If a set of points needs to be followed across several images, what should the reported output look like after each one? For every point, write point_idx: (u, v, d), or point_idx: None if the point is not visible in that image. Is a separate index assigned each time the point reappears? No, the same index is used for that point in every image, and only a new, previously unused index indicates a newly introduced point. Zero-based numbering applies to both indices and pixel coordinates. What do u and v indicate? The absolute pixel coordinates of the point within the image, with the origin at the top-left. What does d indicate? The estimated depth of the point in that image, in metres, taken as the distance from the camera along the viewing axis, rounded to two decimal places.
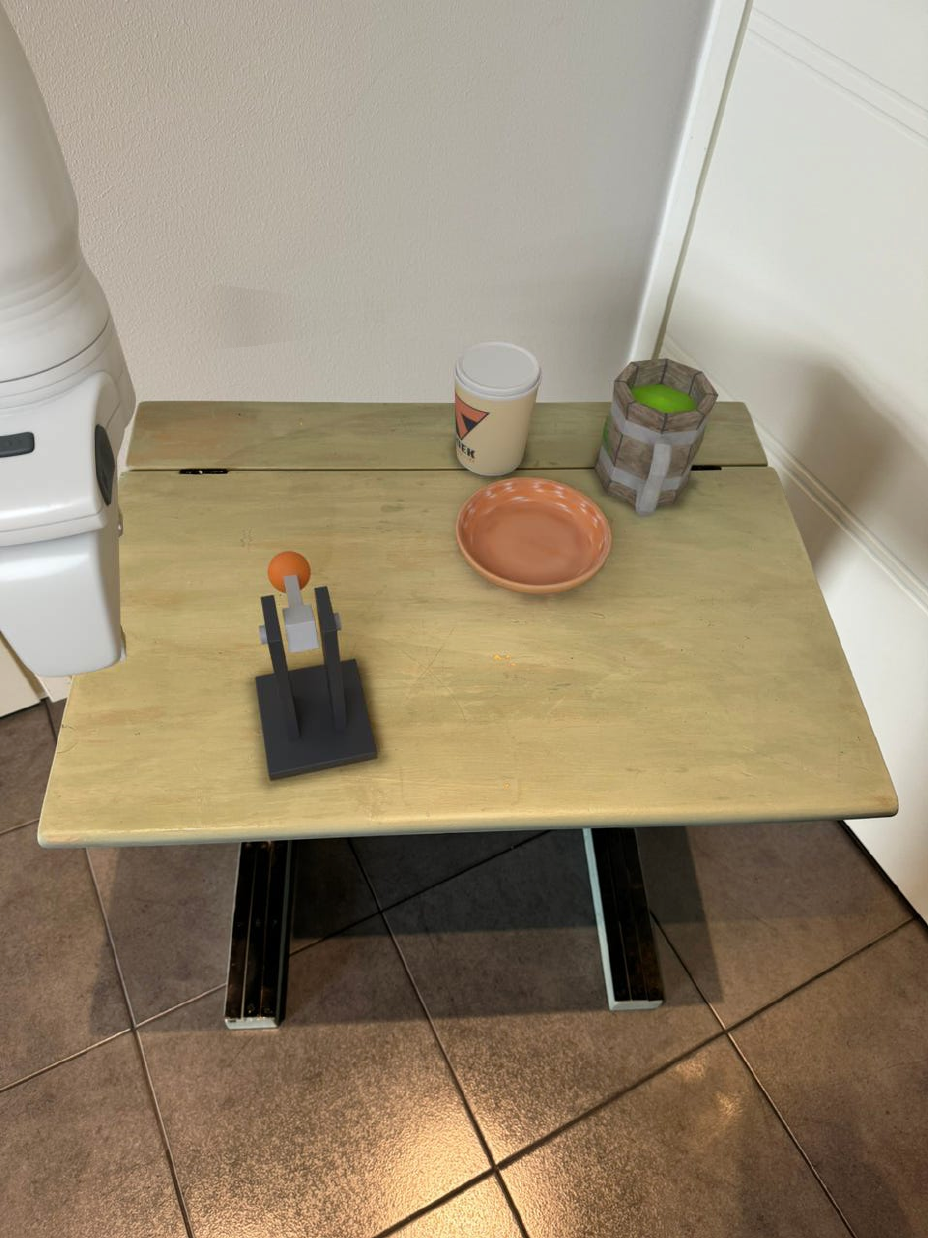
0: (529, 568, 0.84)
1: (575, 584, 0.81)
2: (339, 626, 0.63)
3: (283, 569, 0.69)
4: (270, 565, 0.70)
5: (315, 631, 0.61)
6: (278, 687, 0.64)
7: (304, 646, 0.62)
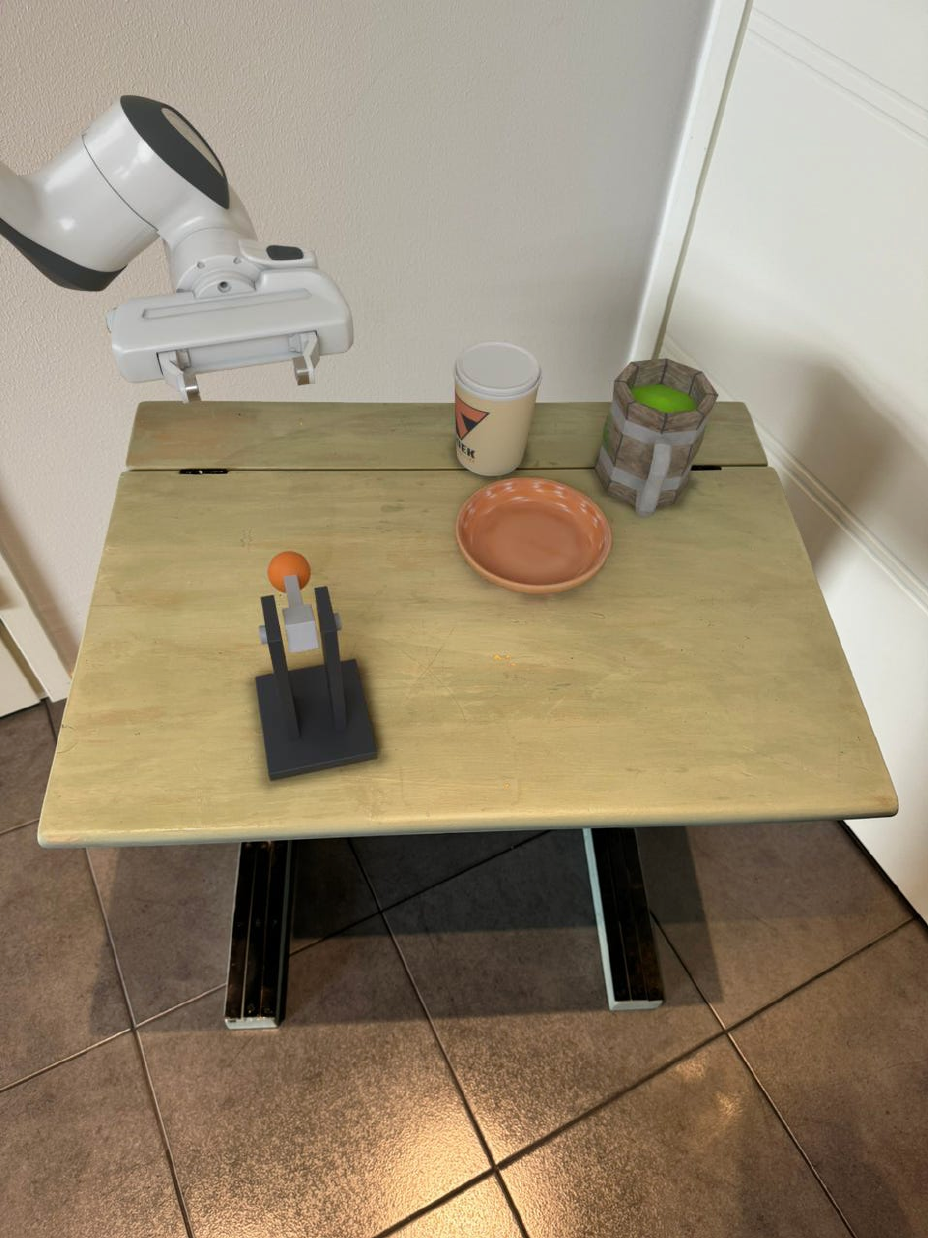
0: (529, 568, 0.84)
1: (575, 584, 0.81)
2: (339, 626, 0.63)
3: (283, 569, 0.69)
4: (270, 565, 0.70)
5: (315, 631, 0.61)
6: (278, 687, 0.64)
7: (304, 646, 0.62)
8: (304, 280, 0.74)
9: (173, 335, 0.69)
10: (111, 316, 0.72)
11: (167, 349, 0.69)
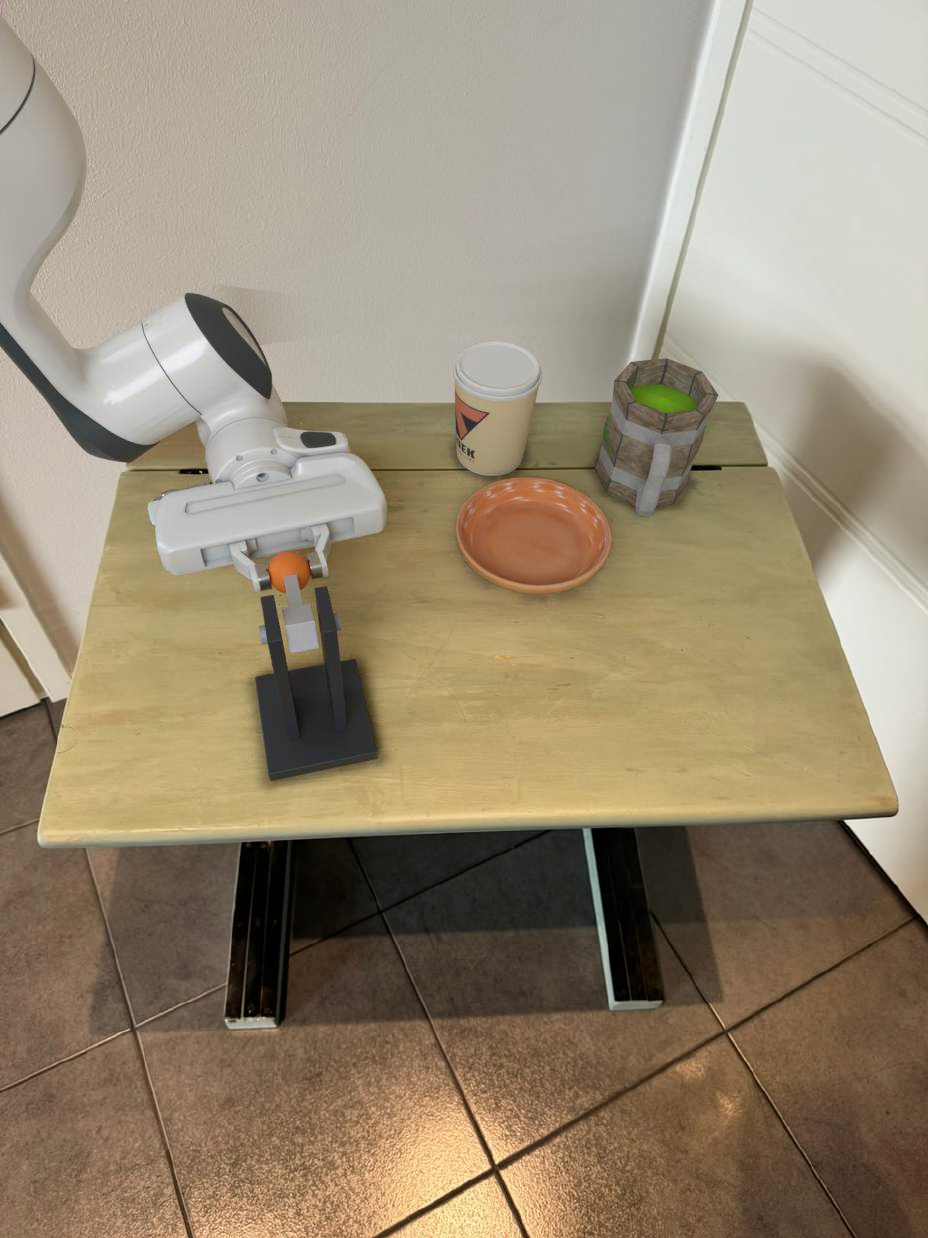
0: (529, 568, 0.84)
1: (575, 584, 0.81)
2: (339, 626, 0.63)
3: (283, 569, 0.69)
4: (270, 565, 0.70)
5: (315, 631, 0.61)
6: (278, 687, 0.64)
7: (304, 646, 0.62)
8: (337, 465, 0.77)
9: (217, 531, 0.71)
10: (152, 509, 0.74)
11: (211, 545, 0.71)
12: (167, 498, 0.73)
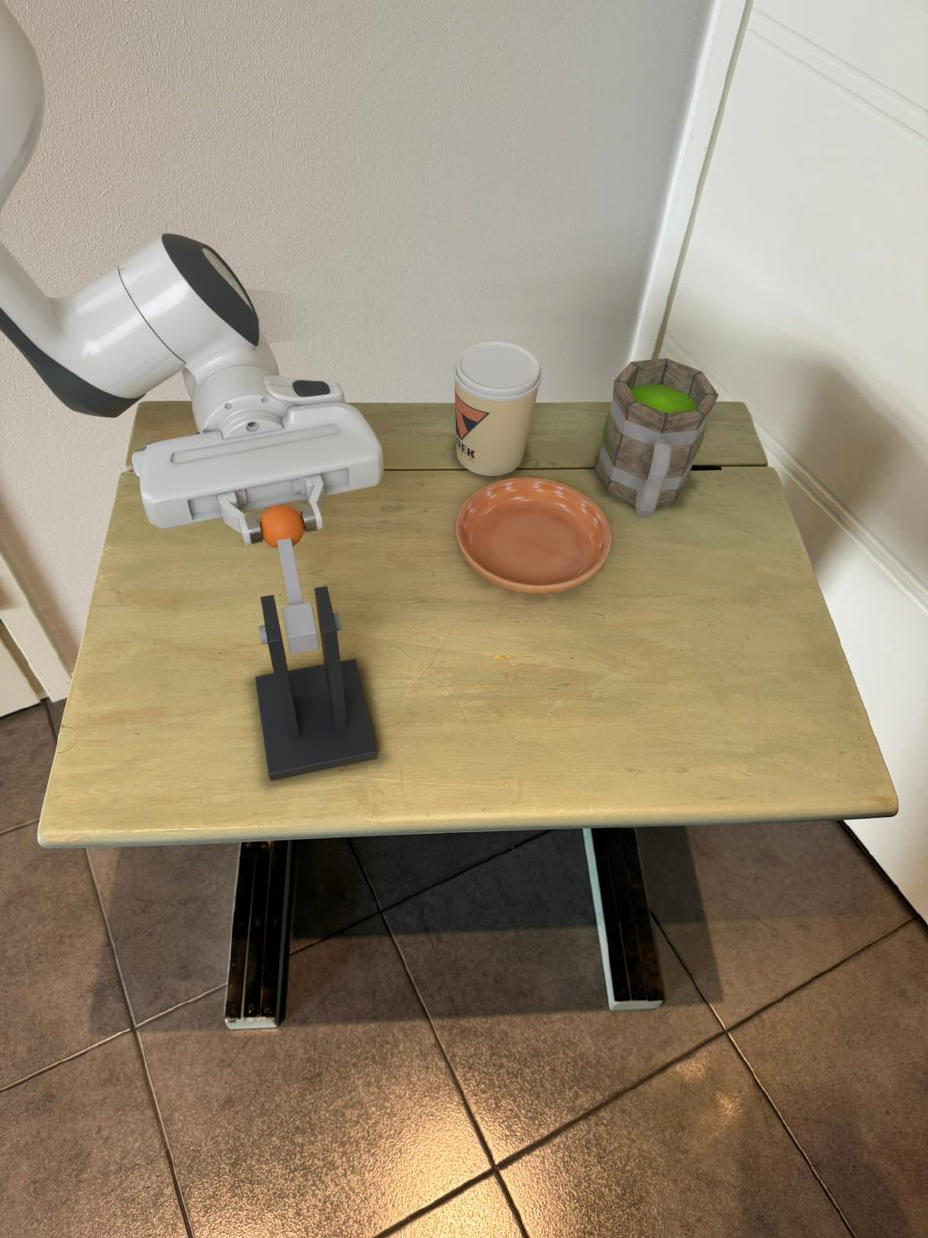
0: (529, 568, 0.84)
1: (575, 584, 0.81)
2: (339, 626, 0.63)
3: (277, 533, 0.66)
4: (262, 523, 0.66)
5: (316, 639, 0.62)
6: (278, 687, 0.64)
7: (304, 649, 0.63)
8: (331, 415, 0.73)
9: (204, 481, 0.67)
10: (137, 459, 0.71)
11: (198, 496, 0.67)
12: (152, 448, 0.70)
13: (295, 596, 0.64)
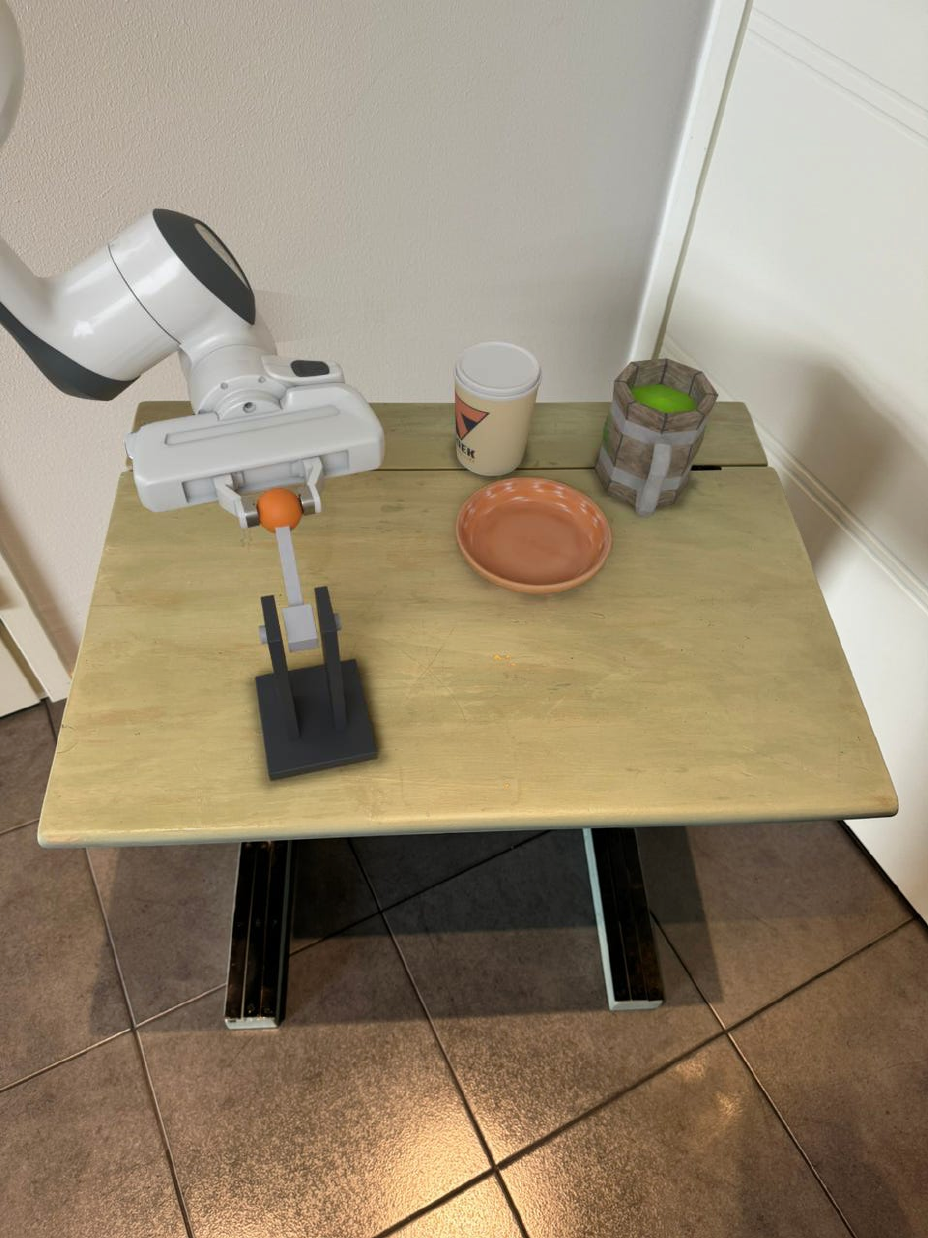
0: (529, 568, 0.84)
1: (575, 584, 0.81)
2: (339, 626, 0.63)
3: (275, 521, 0.64)
4: (260, 510, 0.64)
5: (317, 642, 0.62)
6: (278, 687, 0.64)
7: (304, 648, 0.63)
8: (331, 396, 0.71)
9: (199, 463, 0.65)
10: (130, 441, 0.69)
11: (193, 478, 0.65)
12: (146, 429, 0.68)
13: (295, 594, 0.63)
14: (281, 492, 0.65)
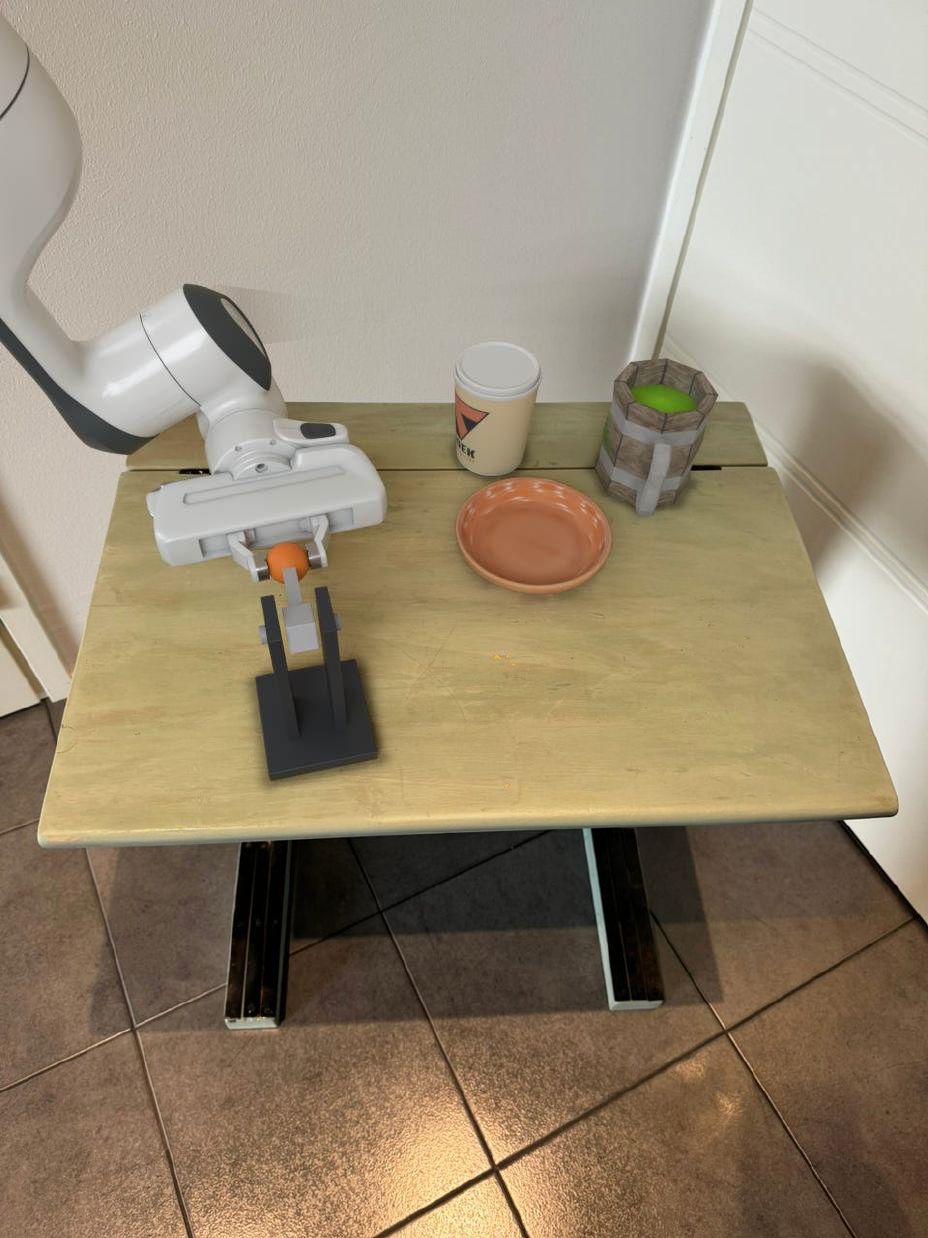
0: (529, 568, 0.84)
1: (575, 584, 0.81)
2: (339, 626, 0.63)
3: (282, 561, 0.69)
4: (268, 556, 0.70)
5: (315, 633, 0.62)
6: (278, 687, 0.64)
7: (304, 647, 0.62)
8: (337, 456, 0.76)
9: (215, 521, 0.71)
10: (151, 500, 0.74)
11: (209, 535, 0.70)
12: (166, 489, 0.73)
13: (296, 604, 0.64)
14: (288, 542, 0.70)
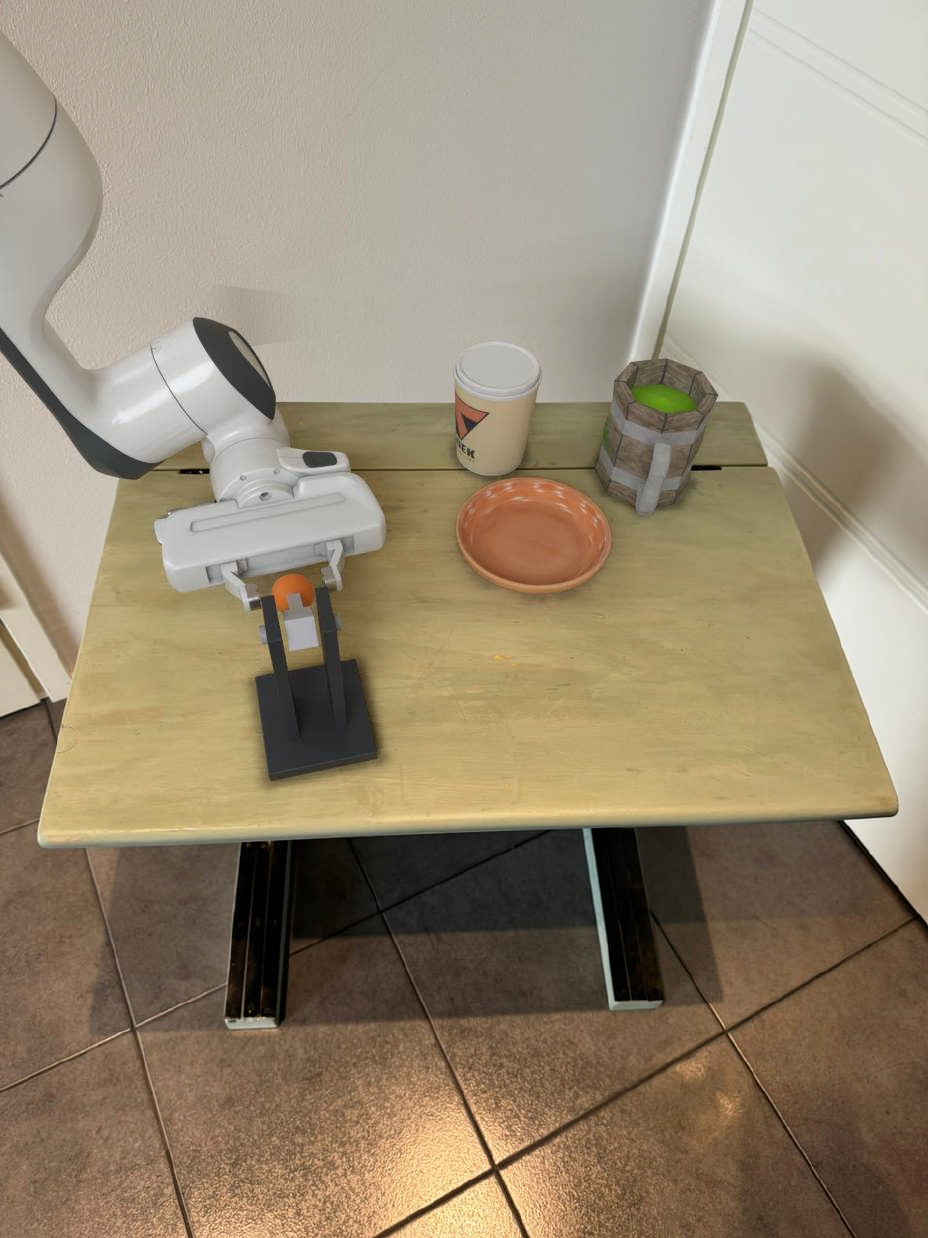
0: (529, 568, 0.84)
1: (575, 584, 0.81)
2: (339, 626, 0.63)
3: (286, 588, 0.70)
4: (274, 586, 0.71)
5: (314, 627, 0.61)
6: (278, 687, 0.64)
7: (304, 643, 0.62)
8: (338, 484, 0.79)
9: (221, 549, 0.73)
10: (159, 527, 0.77)
11: (215, 563, 0.73)
12: (173, 517, 0.76)
13: None
14: None
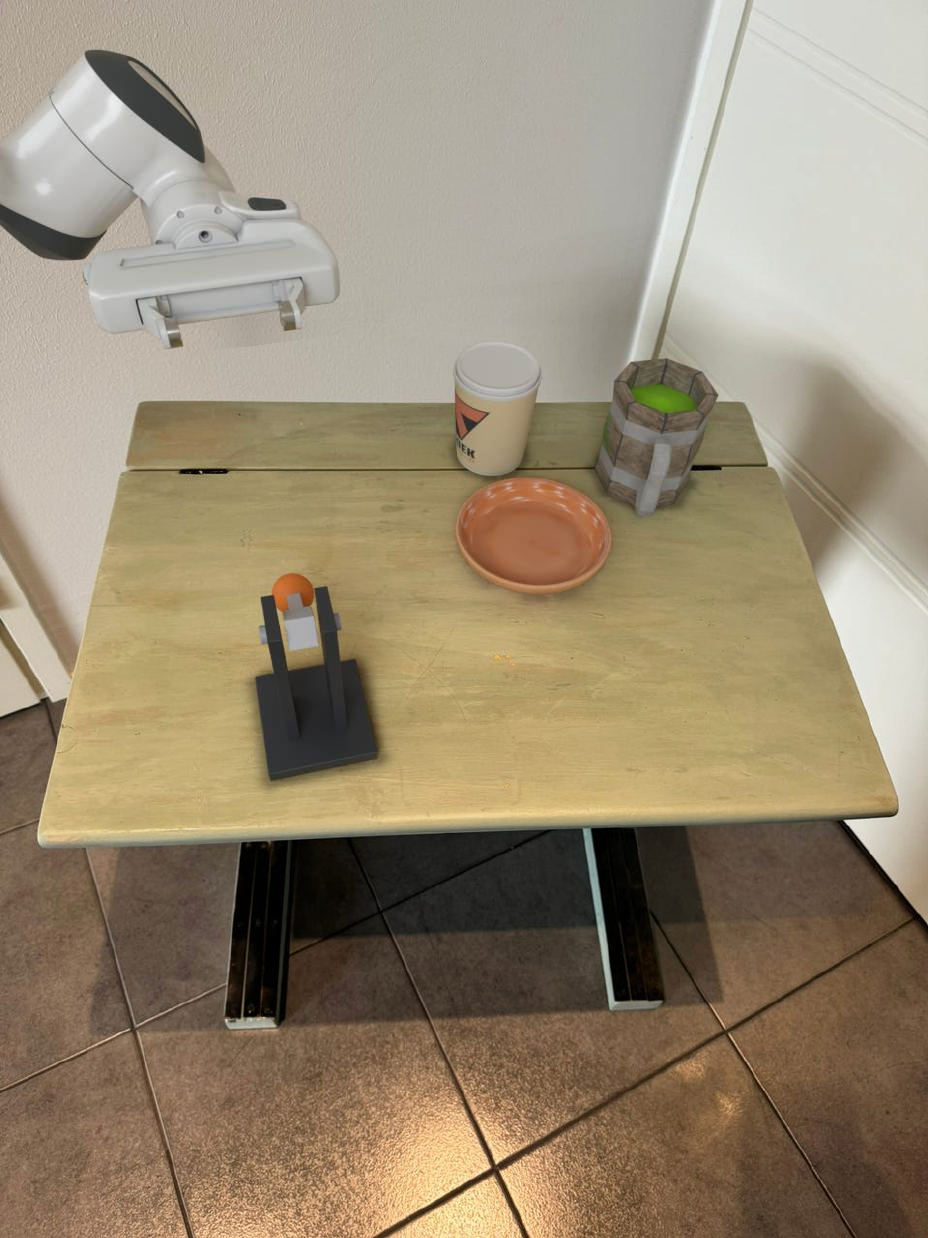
0: (529, 568, 0.84)
1: (575, 584, 0.81)
2: (339, 626, 0.63)
3: (286, 588, 0.70)
4: (274, 586, 0.71)
5: (314, 627, 0.61)
6: (278, 687, 0.64)
7: (304, 643, 0.62)
8: (287, 230, 0.72)
9: (153, 281, 0.66)
10: (88, 269, 0.70)
11: (147, 295, 0.66)
12: (102, 254, 0.69)
13: None
14: None
